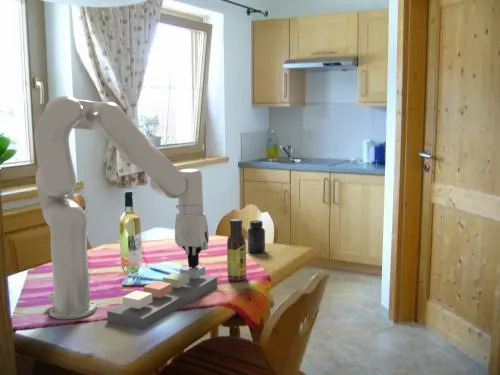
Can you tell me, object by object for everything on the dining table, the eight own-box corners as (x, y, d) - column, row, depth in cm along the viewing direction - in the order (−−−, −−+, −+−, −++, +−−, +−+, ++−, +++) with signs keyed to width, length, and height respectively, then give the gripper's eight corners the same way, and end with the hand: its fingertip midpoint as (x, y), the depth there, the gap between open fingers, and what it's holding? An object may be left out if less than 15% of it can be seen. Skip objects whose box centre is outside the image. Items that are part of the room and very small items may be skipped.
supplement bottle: (267, 253, 210) (267, 222, 209) (250, 254, 209) (249, 224, 207) (262, 248, 217) (262, 219, 215) (245, 250, 215) (245, 220, 214)
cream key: (122, 305, 147) (122, 296, 146) (136, 298, 152) (135, 290, 151) (139, 308, 144) (138, 300, 144) (152, 301, 149) (152, 293, 149)
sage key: (163, 285, 163) (162, 277, 162) (174, 279, 167) (173, 272, 167) (178, 287, 160) (178, 280, 160) (189, 282, 165) (189, 274, 165)
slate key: (180, 276, 170) (180, 269, 170) (190, 271, 175) (190, 264, 175) (195, 279, 168) (195, 271, 168) (205, 273, 173) (205, 266, 172)
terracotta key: (144, 294, 155) (143, 286, 154) (156, 288, 160) (155, 280, 159) (160, 297, 152) (159, 289, 152) (171, 291, 157) (171, 283, 157)
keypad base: (107, 321, 147) (107, 311, 146) (185, 281, 179) (185, 272, 178) (143, 329, 141) (142, 318, 141) (217, 286, 173) (216, 277, 173)
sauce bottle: (244, 282, 177) (243, 222, 174) (225, 281, 178) (224, 221, 175) (248, 275, 183) (247, 218, 180) (230, 275, 185) (228, 217, 182)
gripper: (164, 209, 169) (167, 267, 172) (205, 213, 162) (207, 272, 165) (178, 205, 175) (180, 260, 178) (218, 208, 168) (220, 265, 171)
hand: (193, 266), depth 171 cm, fingers closed
